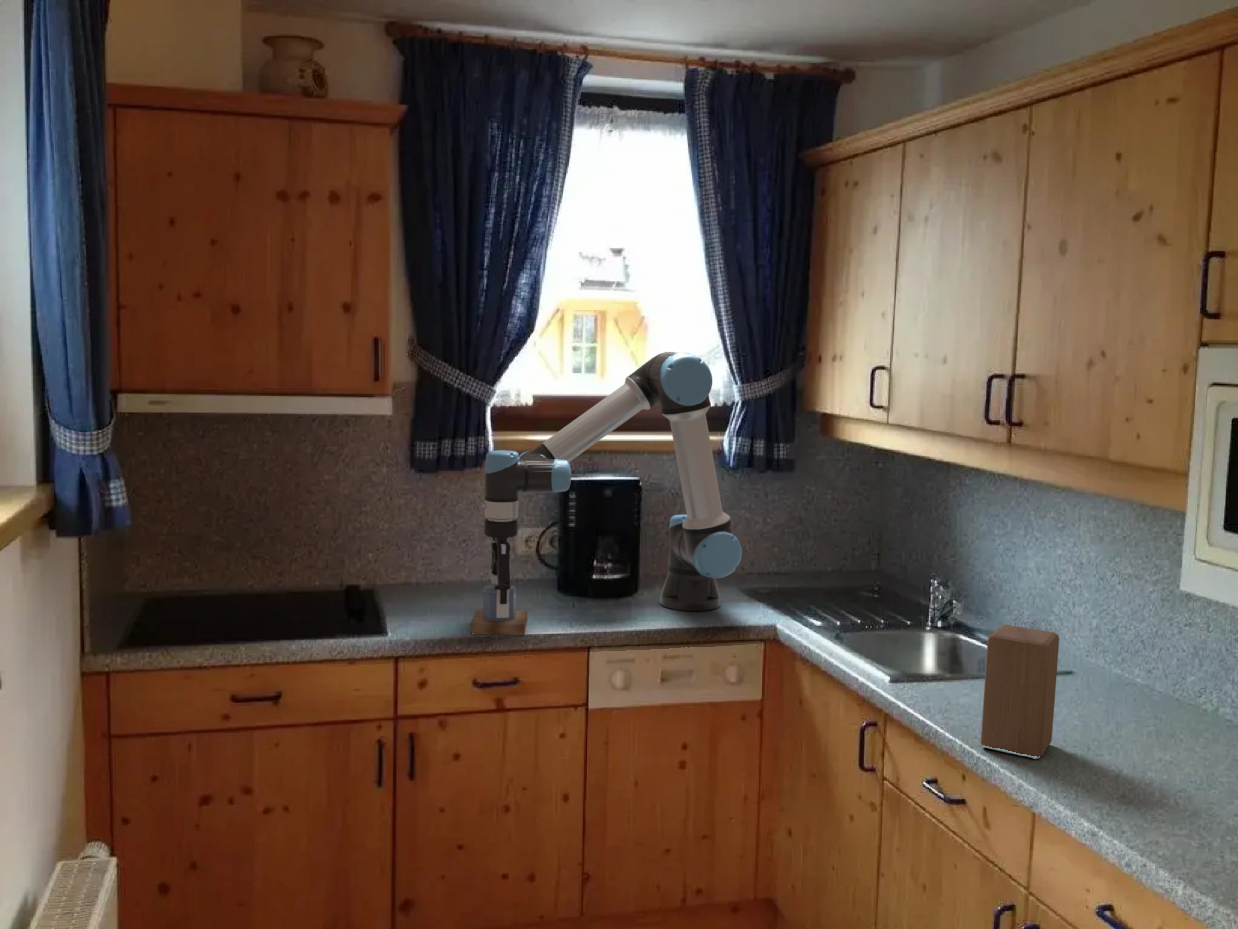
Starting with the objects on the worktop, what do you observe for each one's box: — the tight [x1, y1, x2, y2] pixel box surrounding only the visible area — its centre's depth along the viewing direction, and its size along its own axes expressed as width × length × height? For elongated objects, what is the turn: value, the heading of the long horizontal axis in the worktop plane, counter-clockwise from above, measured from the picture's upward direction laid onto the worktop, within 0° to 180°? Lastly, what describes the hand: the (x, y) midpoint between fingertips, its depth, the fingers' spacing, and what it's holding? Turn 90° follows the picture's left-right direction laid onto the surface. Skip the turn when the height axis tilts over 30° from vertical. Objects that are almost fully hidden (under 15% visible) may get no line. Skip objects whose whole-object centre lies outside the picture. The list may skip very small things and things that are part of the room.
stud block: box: [470, 609, 529, 636], centre depth 263 cm, size 12×12×8 cm
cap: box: [482, 583, 517, 621], centre depth 262 cm, size 7×7×7 cm
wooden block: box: [980, 624, 1060, 757], centre depth 195 cm, size 10×10×20 cm
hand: (499, 610), depth 263 cm, fingers open, 13 cm apart
